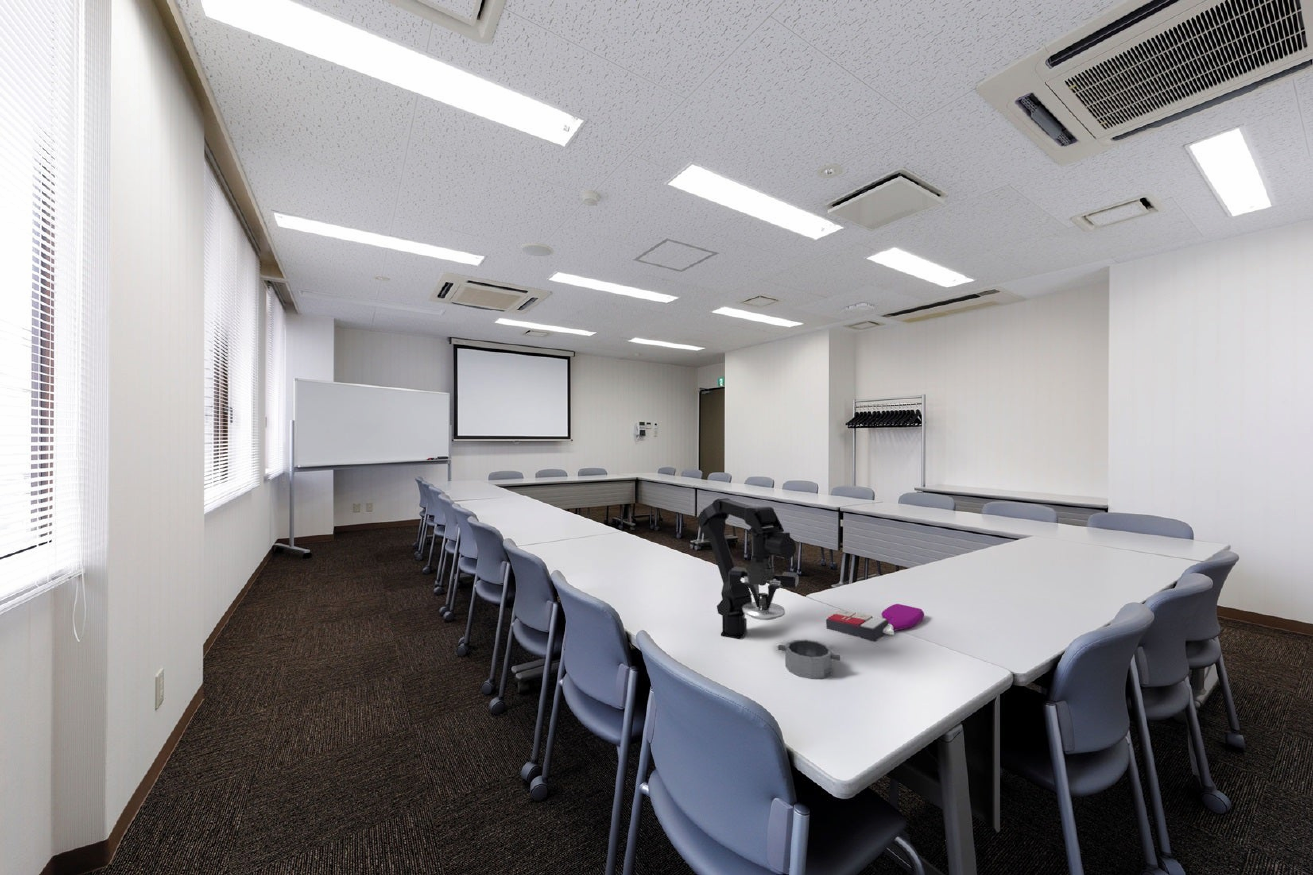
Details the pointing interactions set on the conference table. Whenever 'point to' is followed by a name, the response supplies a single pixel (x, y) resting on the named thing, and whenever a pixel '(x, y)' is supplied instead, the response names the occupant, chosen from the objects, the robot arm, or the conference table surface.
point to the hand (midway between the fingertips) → (763, 607)
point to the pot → (808, 658)
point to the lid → (763, 609)
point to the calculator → (857, 624)
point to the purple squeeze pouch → (901, 617)
